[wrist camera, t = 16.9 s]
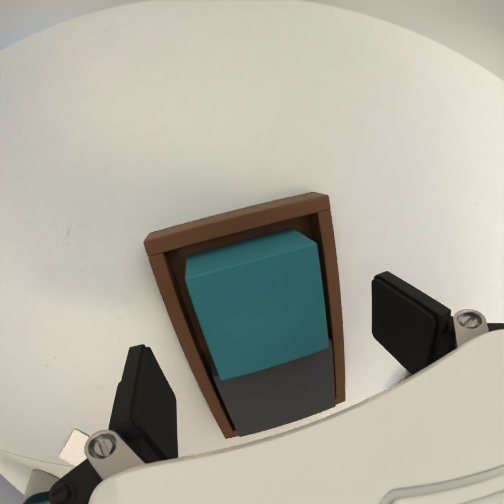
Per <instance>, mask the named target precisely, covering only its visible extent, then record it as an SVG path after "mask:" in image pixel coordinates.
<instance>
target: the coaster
mask: <svg viewBox="0 0 504 504" xmlns="http://www.w3.org/2000/svg"><path fill="white" fill-rule="evenodd" d="M88 438H89V437H88V436H87V435H85V434H83V433H81V432H79V431H77V430H74V431H73V433H72V435H71V437H70V438H69V440H68V442H67V444H66V445H65V447H64V449H63V451H62V452H61V454H60V456H59V458H61V459H62V460H64V461H66V462H68V463H70V464H72V465H74V466H78V465H79V464H80V463H81V462H83V461H84V460H85V459H86V458H87V457H86V455H85V453H84V446H85V443H86V441H87V440H88Z"/></svg>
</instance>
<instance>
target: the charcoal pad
mask: <svg viewBox="0 0 504 504" xmlns="http://www.w3.org/2000/svg"><path fill="white" fill-rule="evenodd" d="M328 343H329V347H328V348H326V349H324V350H321V351H318V352H315V353H312V354H310V355H307V356H304V357H301V358H298V359H295V360H292V361H289V362H286V363H283V364H279V365H276V366H273V367H270V368H266V369H263V370H259V371H256V372H252V373H249V374H245V375H242V376H238V377H234V378H230V379H226V380H221V379H220V377H219V374H218V372H217V369H216V367H215V364H214V361H213V359H212V356H211V355H210V356H211V365H212V373H213V378H214V381H215V383H216V386H217V388H218V390H219V393H220V395H221V397H222V399H223V402H224V404H225V406H226V409H227V411H228V413H229V415H230V417H231V420H232V422H233V424H234V426H235V428H236V430H237V432H238V435H239V436H240V437H242V436H246V435H250V434H254V433H258V432H261V431H265V430H268V429H272V428H275V427H278V426H282V425H285V424H288V423H291V422H294V421H297V420H300V419H303V418H306V417H309V416H312V415H314V414H317V413H320V412H322V411H325V410H328V409H330V408H333V407H335V385H334V367H333V352H332V341H331V340H330V338H329V337H328Z"/></svg>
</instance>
